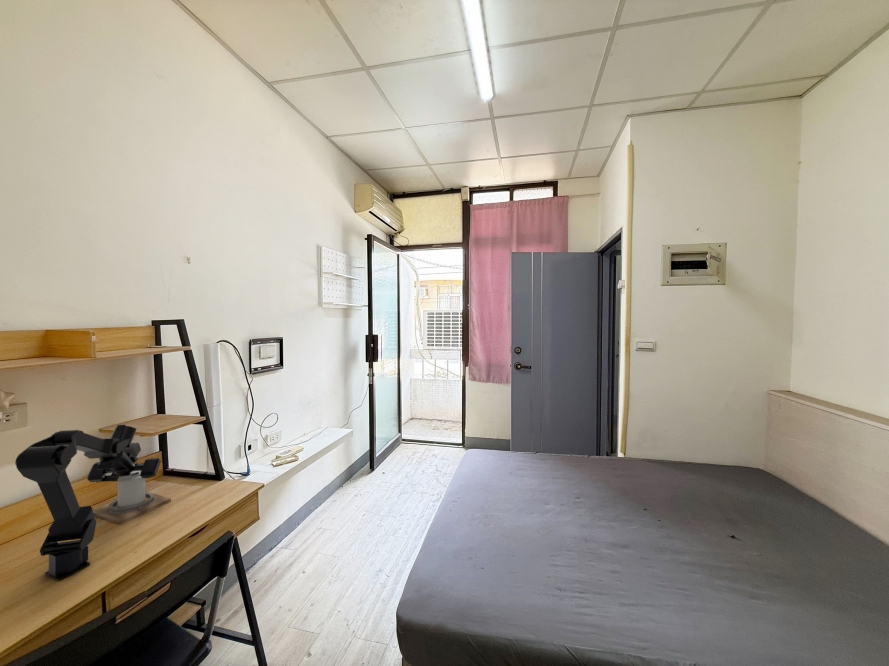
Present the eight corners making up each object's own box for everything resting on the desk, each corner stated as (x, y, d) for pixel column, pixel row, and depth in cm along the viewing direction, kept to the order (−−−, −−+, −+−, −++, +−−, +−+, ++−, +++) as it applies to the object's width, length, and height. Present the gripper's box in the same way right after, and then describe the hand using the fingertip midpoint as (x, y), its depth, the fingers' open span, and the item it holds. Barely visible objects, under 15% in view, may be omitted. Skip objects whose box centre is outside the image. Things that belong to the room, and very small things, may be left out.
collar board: (120, 524, 114) (120, 516, 114) (89, 514, 118) (89, 507, 118) (170, 501, 129) (171, 494, 129) (141, 493, 134) (142, 486, 133)
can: (138, 508, 121) (139, 475, 121) (112, 511, 119) (112, 478, 118) (149, 498, 128) (149, 467, 128) (124, 500, 126) (124, 469, 125)
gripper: (159, 436, 122) (172, 455, 133) (93, 440, 116) (112, 459, 127) (147, 467, 115) (162, 484, 126) (76, 473, 109) (98, 490, 120)
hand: (134, 478), depth 125 cm, fingers open, 9 cm apart
